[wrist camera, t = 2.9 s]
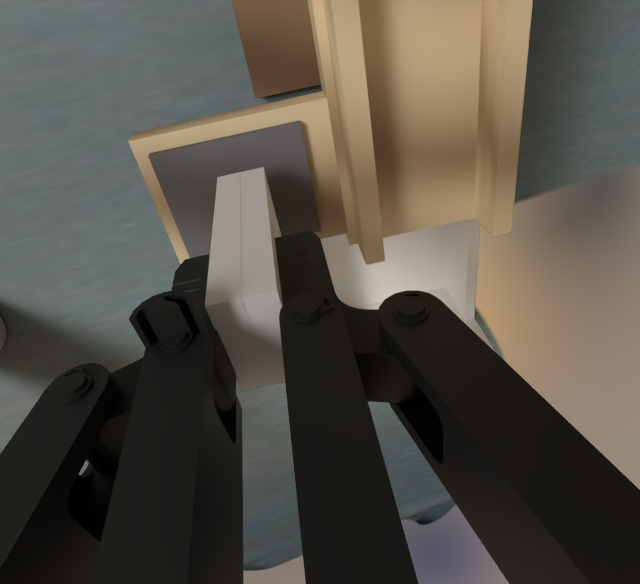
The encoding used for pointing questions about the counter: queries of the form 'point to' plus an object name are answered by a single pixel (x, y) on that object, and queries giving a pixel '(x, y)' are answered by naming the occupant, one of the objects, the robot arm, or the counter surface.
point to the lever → (366, 129)
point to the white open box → (412, 268)
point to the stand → (277, 44)
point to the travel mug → (2, 333)
